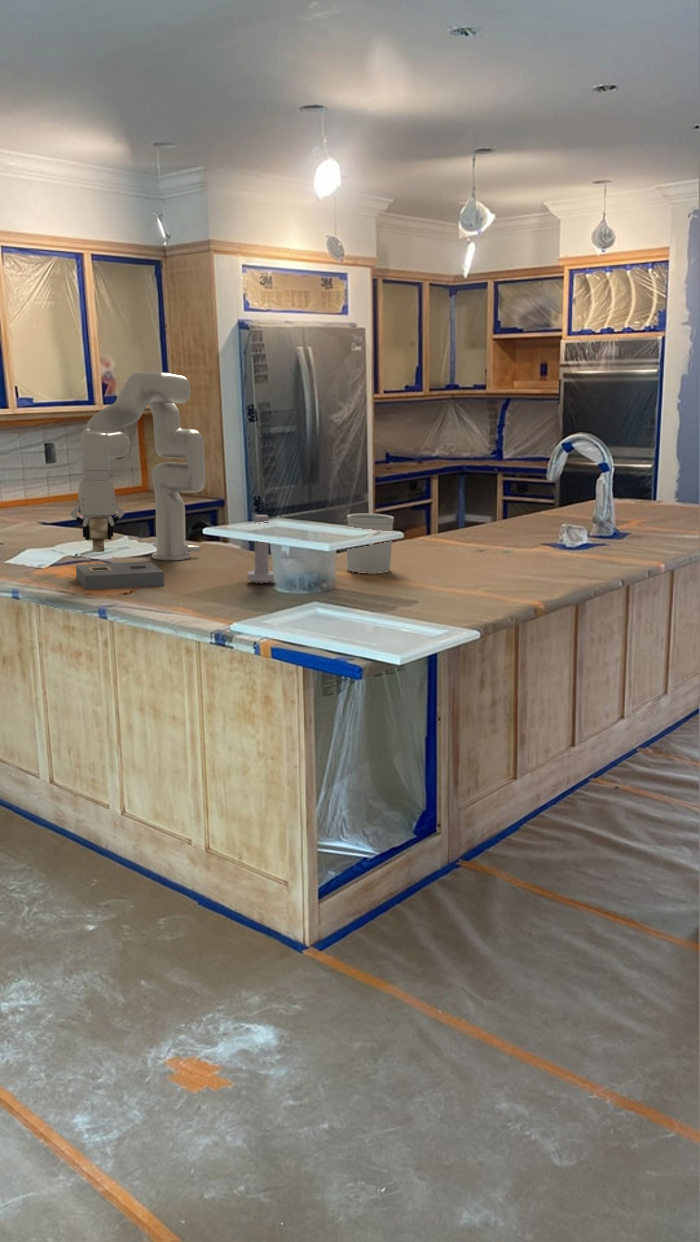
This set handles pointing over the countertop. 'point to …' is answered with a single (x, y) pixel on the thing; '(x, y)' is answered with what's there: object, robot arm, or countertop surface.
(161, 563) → the countertop surface
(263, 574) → the screw
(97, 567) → the seat block
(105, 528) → the peg
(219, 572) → the countertop surface
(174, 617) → the countertop surface
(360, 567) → the utensil holder
